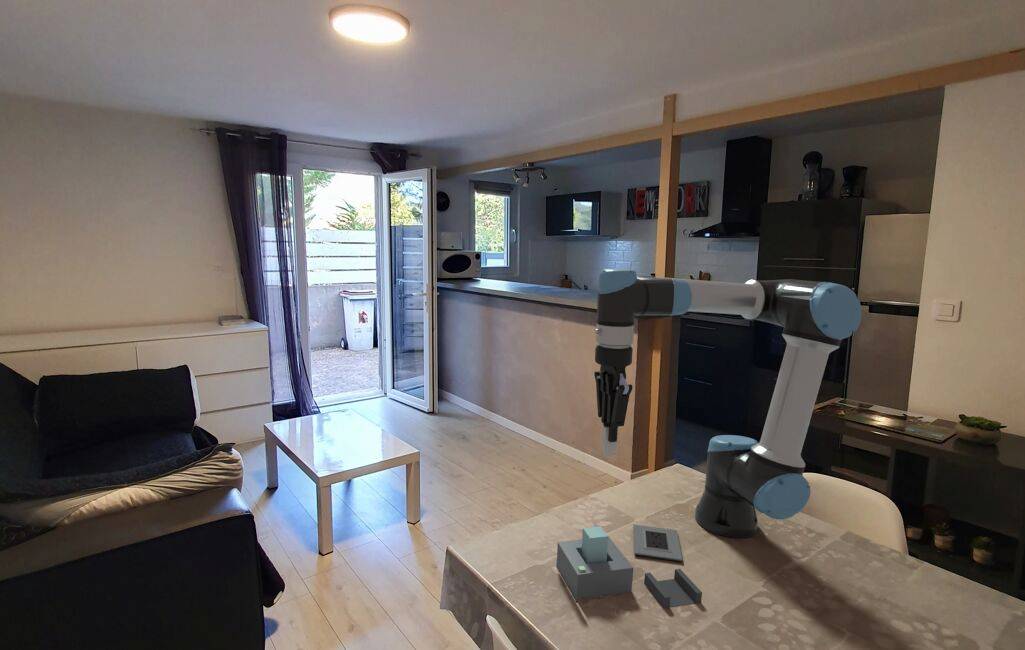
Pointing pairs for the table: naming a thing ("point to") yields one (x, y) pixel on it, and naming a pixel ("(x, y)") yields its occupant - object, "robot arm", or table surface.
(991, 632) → the table surface
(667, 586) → the grey u-channel bracket
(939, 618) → the table surface
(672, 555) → the electrical outlet
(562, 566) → the port block
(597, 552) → the plug
